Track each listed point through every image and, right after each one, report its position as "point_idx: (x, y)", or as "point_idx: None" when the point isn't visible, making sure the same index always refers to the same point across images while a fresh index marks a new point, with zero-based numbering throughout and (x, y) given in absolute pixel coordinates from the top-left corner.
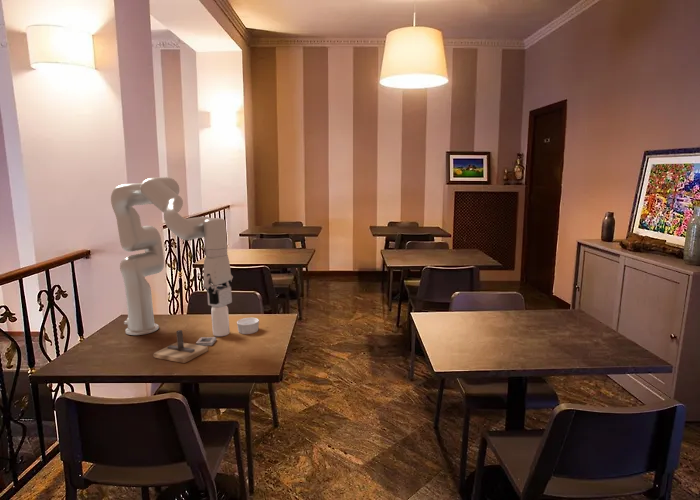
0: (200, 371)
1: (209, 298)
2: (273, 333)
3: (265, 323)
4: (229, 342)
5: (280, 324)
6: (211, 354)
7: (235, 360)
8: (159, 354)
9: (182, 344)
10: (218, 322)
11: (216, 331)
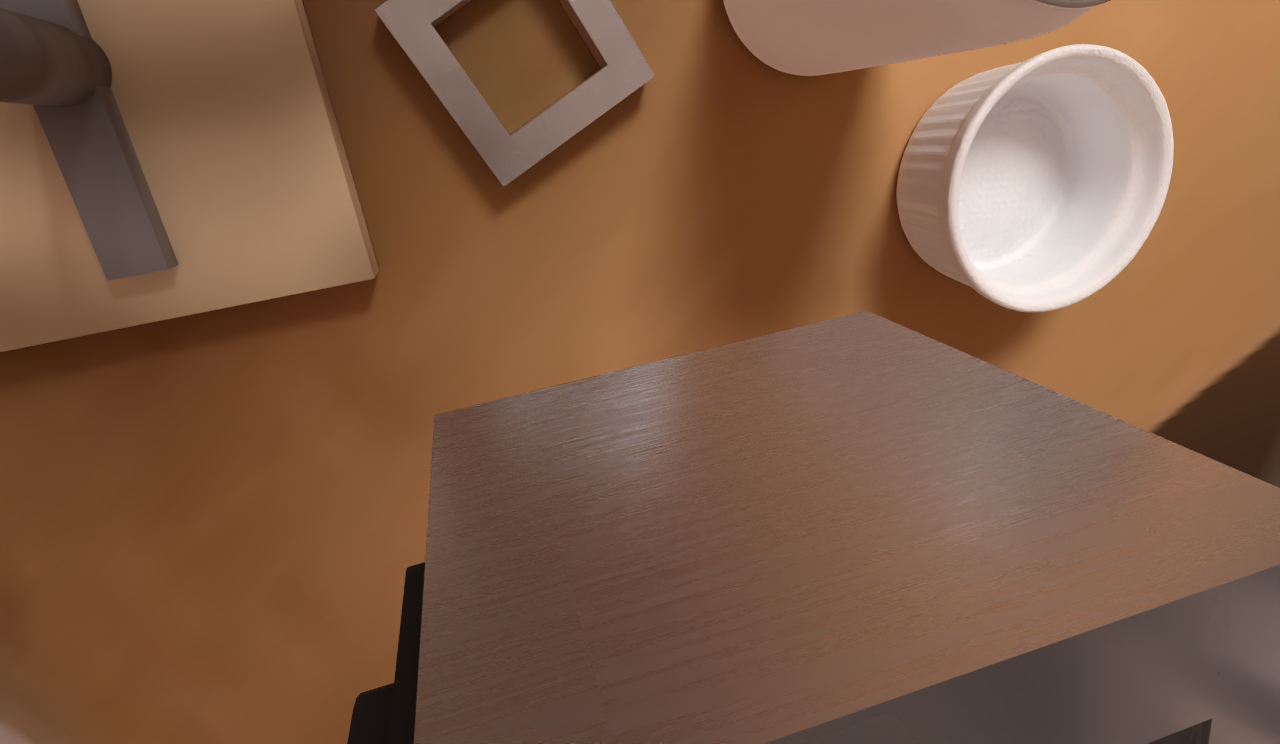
0: (2, 638)
1: (398, 671)
2: None
3: (1195, 163)
4: (661, 271)
5: (1197, 309)
6: (335, 383)
7: (387, 657)
8: None
9: (37, 103)
10: (809, 1)
11: None
